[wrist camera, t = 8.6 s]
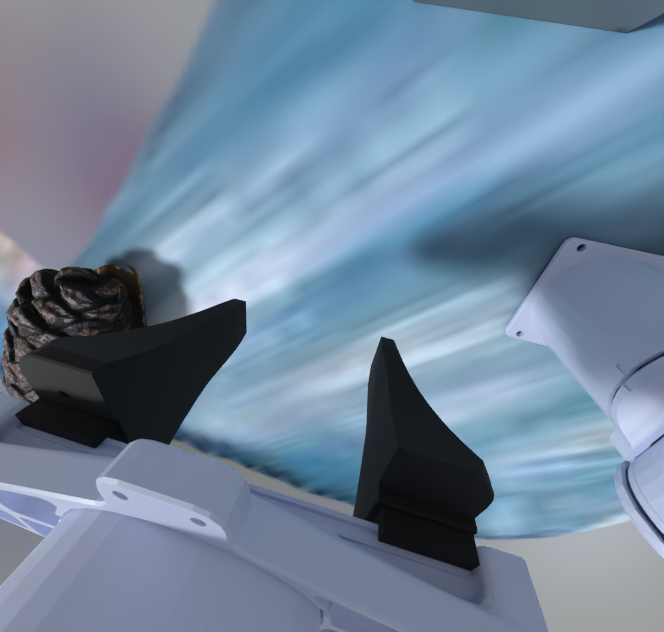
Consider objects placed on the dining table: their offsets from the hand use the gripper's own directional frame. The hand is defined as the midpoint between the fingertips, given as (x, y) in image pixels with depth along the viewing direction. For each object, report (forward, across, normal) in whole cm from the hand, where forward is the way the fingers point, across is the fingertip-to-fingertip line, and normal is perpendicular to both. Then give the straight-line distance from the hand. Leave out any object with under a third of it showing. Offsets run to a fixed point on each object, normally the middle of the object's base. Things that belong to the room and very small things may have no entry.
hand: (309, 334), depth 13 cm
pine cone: (+10, +25, +12) cm, 29 cm away
